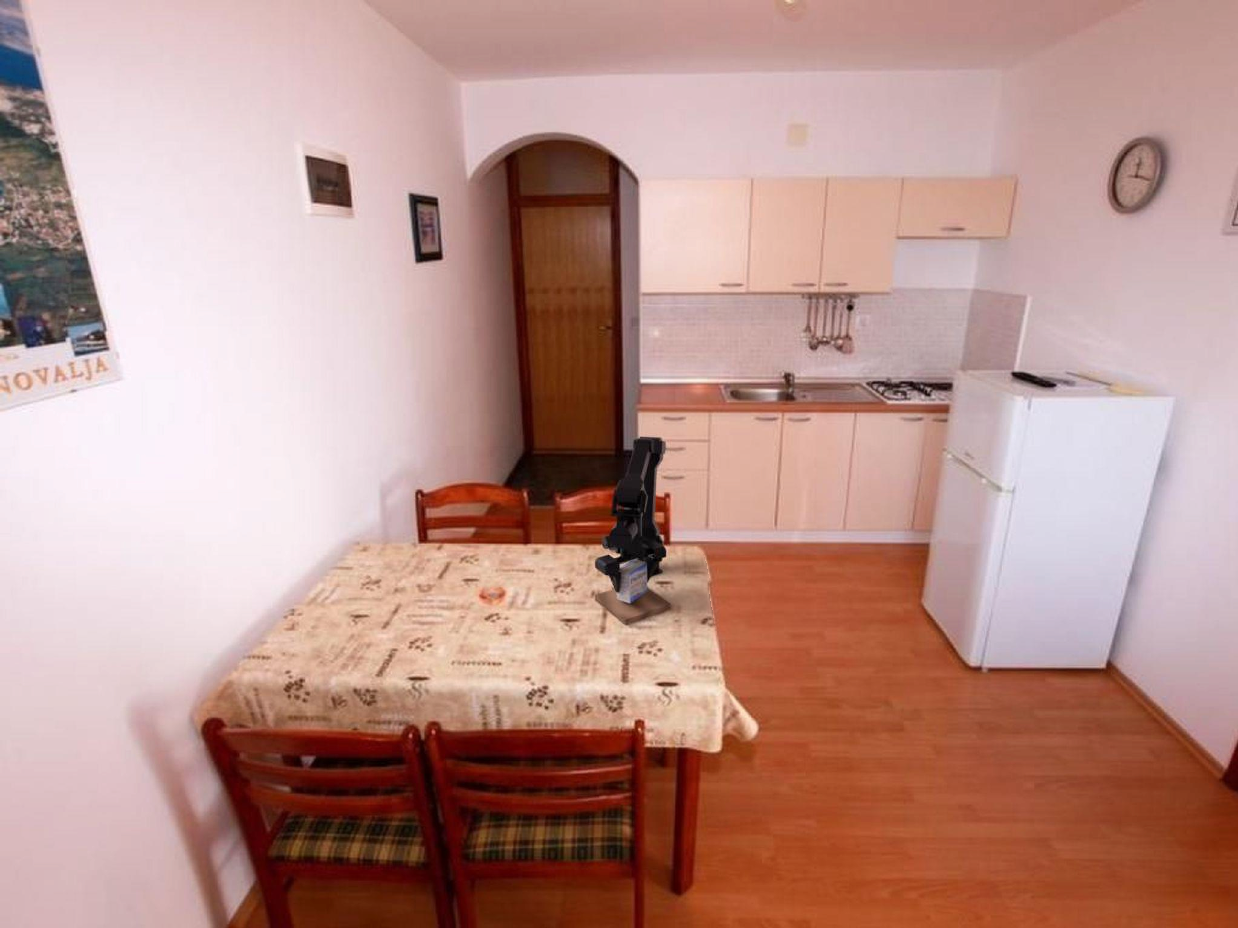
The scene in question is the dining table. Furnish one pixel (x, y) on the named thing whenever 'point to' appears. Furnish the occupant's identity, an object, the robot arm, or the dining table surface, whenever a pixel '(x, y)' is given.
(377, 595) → the dining table surface
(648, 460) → the robot arm
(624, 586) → the medicine box
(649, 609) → the walnut board
